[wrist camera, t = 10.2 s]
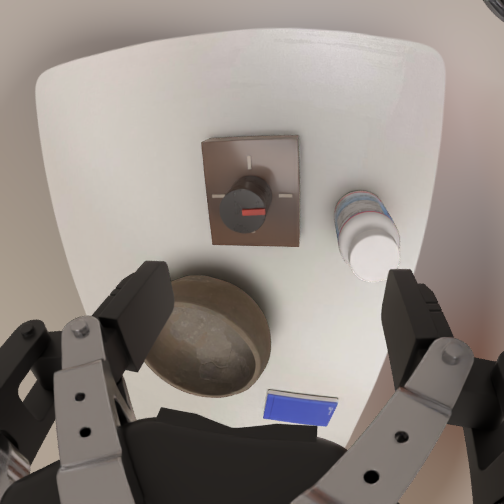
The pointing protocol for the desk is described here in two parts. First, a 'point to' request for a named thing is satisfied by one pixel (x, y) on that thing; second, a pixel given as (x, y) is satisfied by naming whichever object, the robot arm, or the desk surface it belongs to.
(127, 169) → the desk surface
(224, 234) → the panel
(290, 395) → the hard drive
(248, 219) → the knob
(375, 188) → the desk surface
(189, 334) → the bowl
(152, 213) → the desk surface
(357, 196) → the pill bottle
